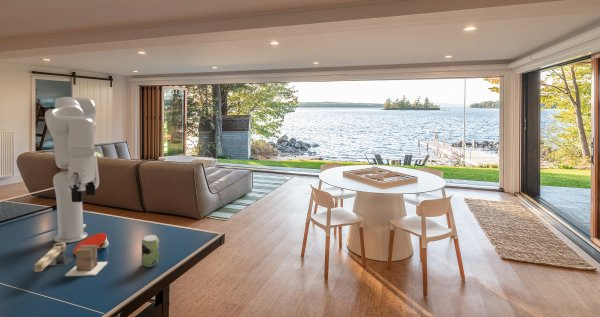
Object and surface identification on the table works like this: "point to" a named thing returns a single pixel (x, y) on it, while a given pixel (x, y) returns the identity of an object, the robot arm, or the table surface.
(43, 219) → the table surface
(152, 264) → the beverage can
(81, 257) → the walnut block
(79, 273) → the tile
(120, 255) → the table surface
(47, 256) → the swing arm
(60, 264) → the pivot plate
